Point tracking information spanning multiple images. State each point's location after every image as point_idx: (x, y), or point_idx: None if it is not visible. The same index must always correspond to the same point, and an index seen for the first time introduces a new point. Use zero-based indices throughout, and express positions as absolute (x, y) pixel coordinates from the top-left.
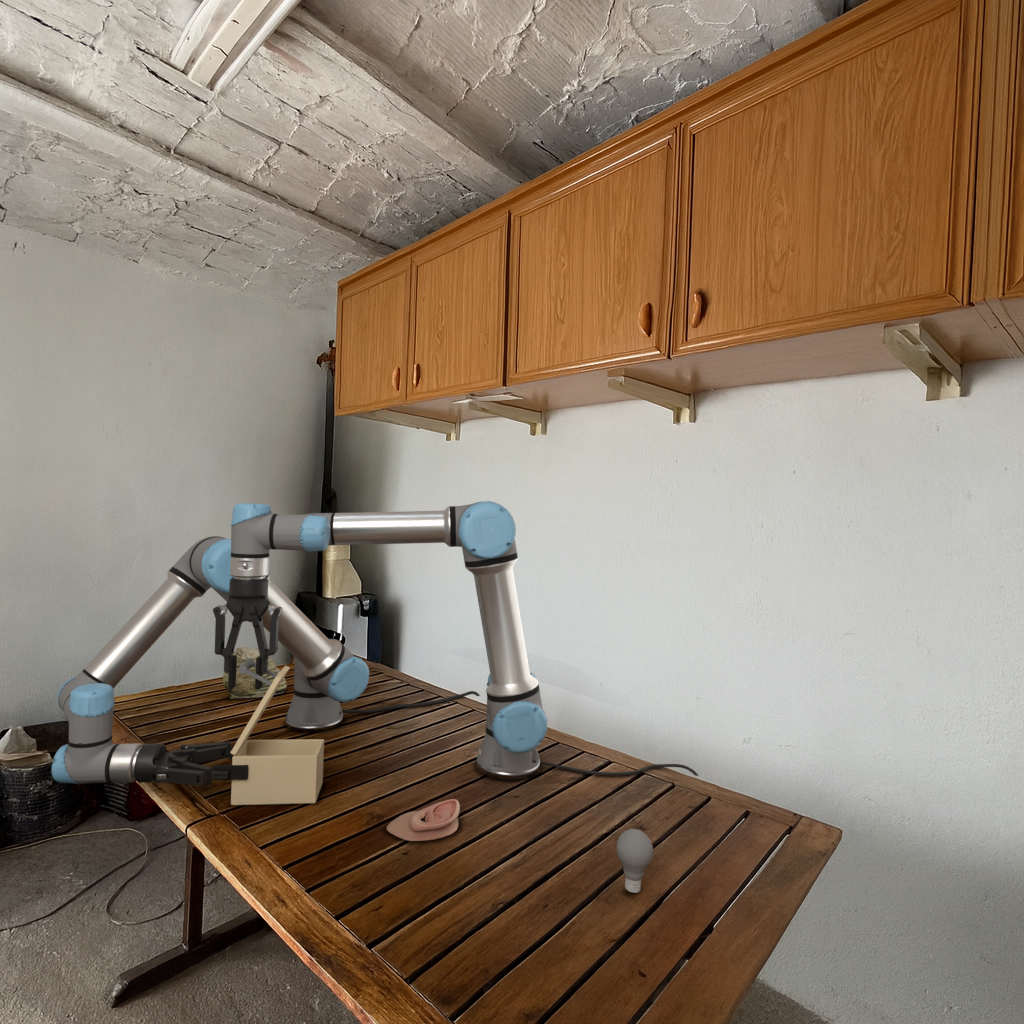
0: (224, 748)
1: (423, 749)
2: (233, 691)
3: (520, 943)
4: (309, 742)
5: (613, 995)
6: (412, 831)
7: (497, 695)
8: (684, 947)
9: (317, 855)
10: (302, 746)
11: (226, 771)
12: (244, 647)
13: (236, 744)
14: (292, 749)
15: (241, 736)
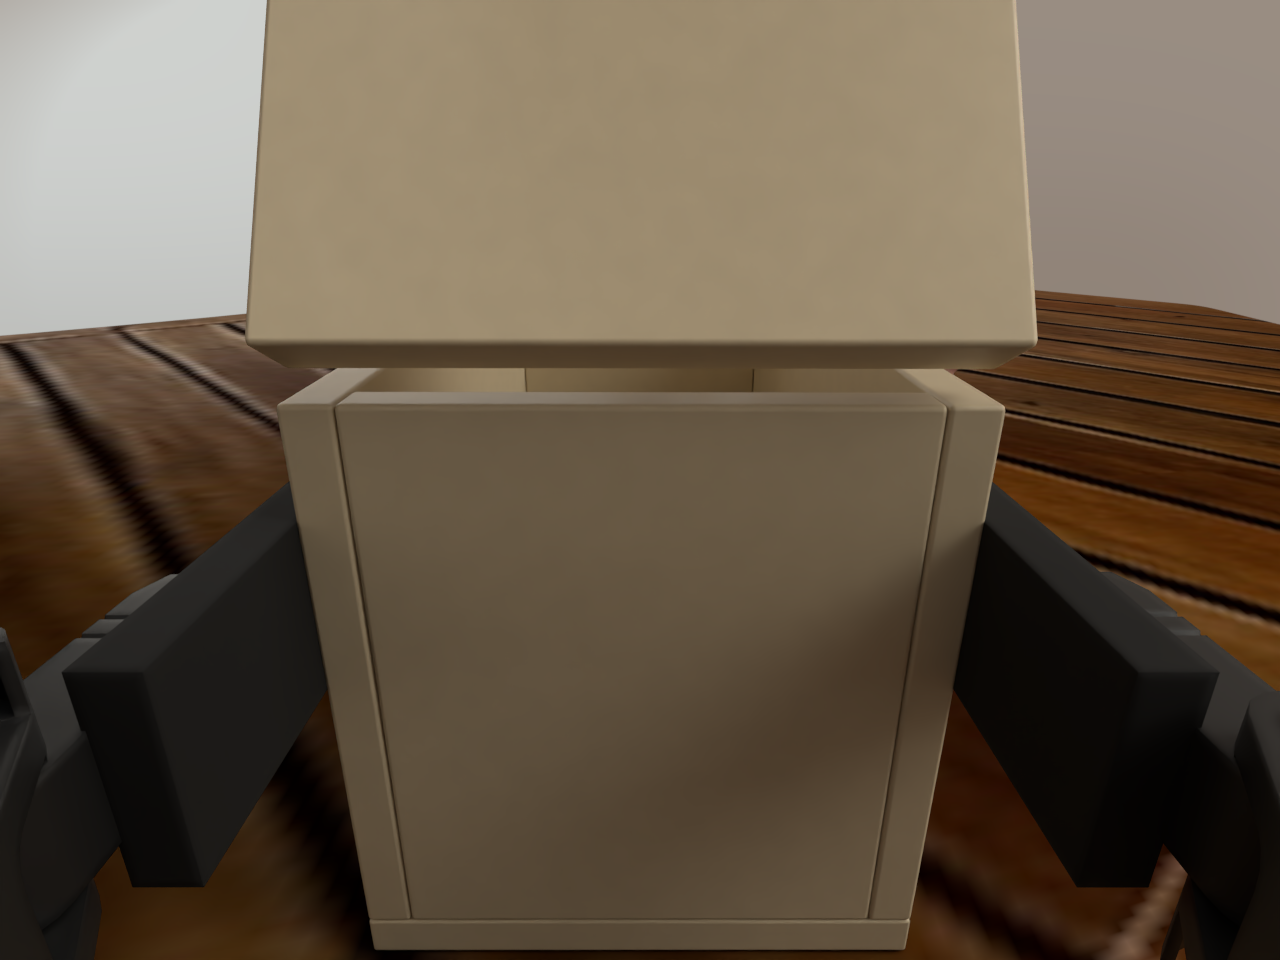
0: (14, 794)
1: (284, 389)
2: None
3: (1221, 347)
4: None
5: (1250, 325)
6: (953, 374)
7: None
8: (1091, 305)
9: (1199, 500)
10: None
11: (1120, 584)
12: None
13: (1016, 185)
14: (488, 371)
15: (1013, 43)
